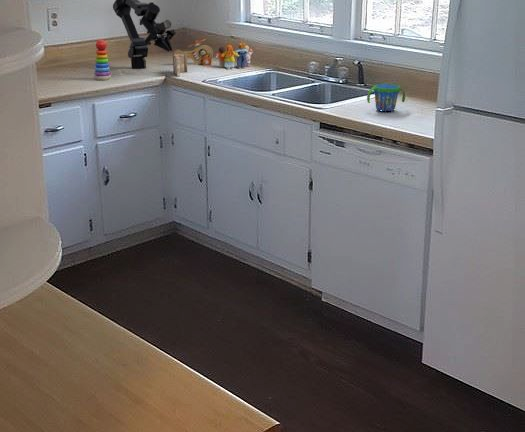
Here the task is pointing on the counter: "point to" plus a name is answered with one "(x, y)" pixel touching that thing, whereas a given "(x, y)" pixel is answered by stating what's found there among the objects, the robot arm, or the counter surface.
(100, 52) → the stacking toy
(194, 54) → the toy helicopter
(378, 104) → the snack cup
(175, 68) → the fence gate
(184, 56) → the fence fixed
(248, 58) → the doll family
